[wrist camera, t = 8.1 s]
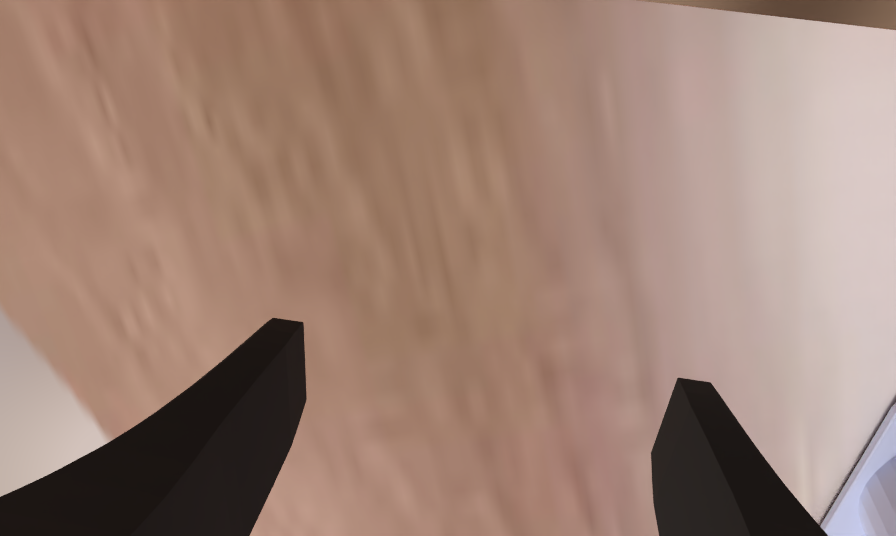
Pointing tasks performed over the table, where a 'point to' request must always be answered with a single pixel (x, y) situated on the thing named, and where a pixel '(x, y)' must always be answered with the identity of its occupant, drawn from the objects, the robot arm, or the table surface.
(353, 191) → the table surface
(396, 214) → the table surface
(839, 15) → the walnut block
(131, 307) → the table surface
